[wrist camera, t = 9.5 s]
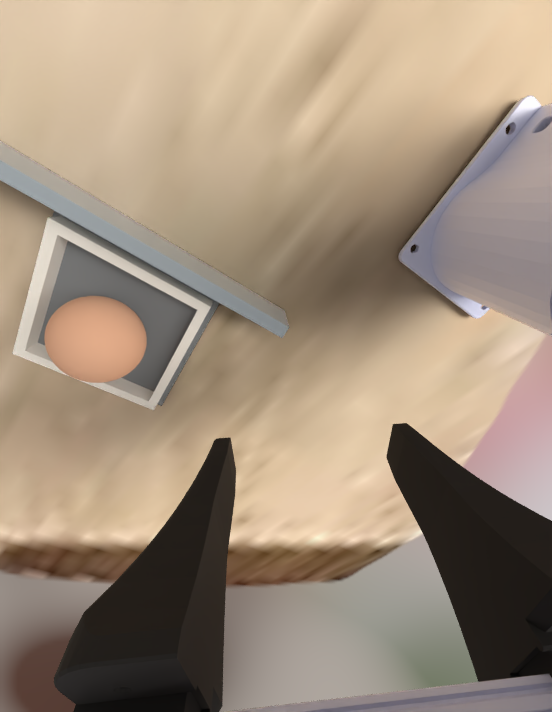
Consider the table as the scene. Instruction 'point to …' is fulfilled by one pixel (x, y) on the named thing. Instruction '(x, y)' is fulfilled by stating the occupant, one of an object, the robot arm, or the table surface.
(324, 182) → the table surface
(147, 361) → the white square tray
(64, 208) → the low wall
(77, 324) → the ball
